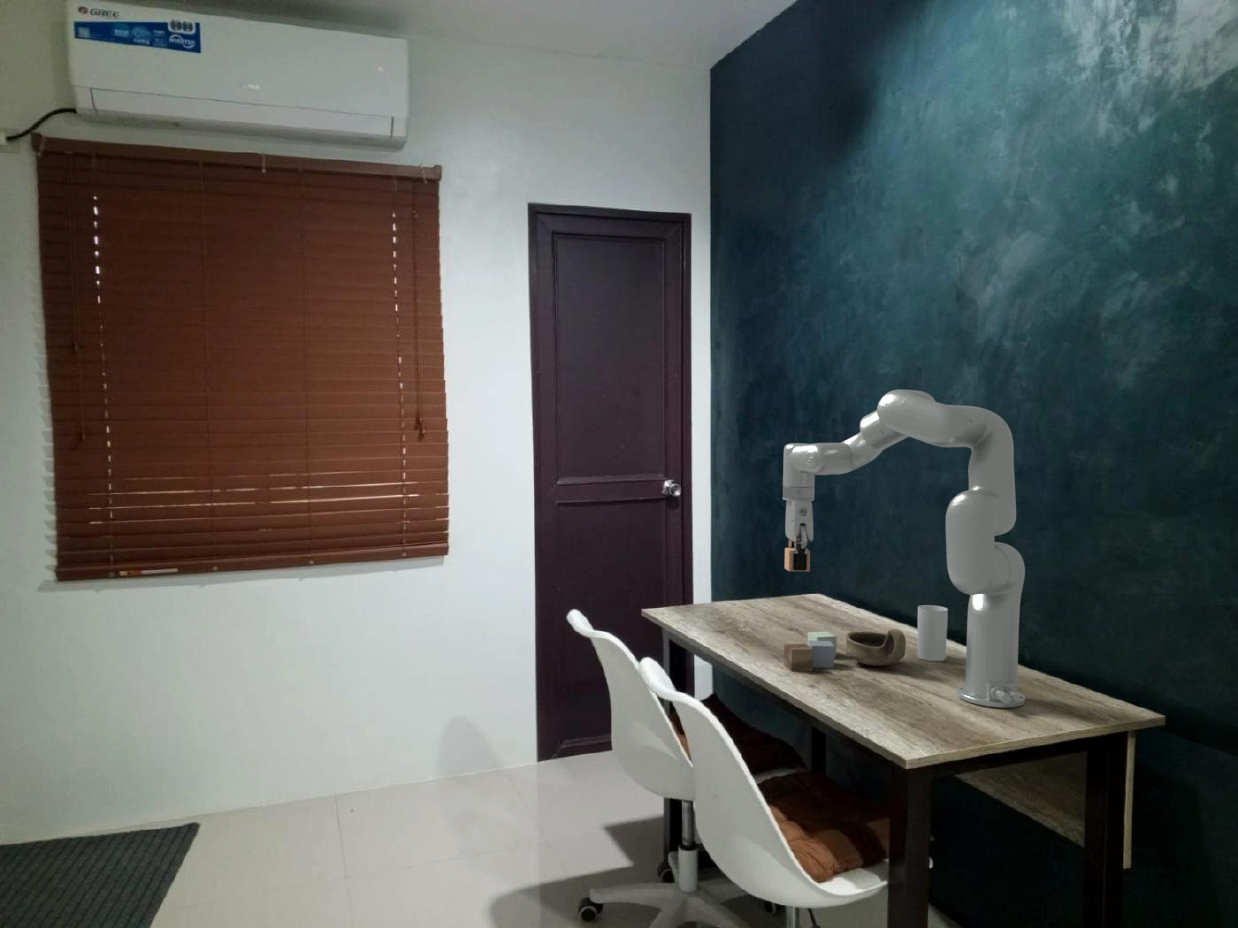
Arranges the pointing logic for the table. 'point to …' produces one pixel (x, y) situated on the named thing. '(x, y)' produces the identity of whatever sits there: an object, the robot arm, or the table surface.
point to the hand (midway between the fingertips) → (797, 567)
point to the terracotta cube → (789, 559)
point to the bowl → (876, 647)
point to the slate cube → (822, 654)
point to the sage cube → (822, 638)
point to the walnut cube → (798, 657)
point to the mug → (932, 632)
